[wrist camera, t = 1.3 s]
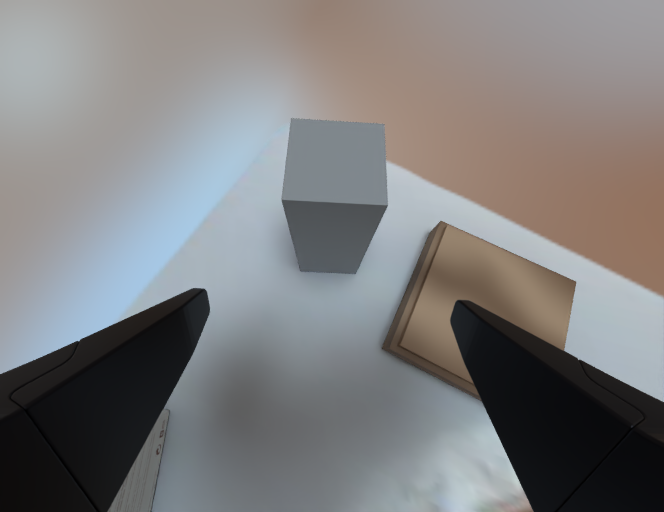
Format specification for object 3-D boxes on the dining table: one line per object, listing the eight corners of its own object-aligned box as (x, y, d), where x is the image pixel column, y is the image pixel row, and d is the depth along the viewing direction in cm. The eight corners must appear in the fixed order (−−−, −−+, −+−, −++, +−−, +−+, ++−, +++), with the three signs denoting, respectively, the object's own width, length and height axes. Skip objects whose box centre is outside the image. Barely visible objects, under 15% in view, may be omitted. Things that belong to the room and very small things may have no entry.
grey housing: (355, 273, 23) (387, 205, 12) (300, 271, 23) (281, 199, 12) (355, 224, 25) (384, 124, 14) (304, 221, 25) (291, 118, 14)
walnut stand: (523, 423, 20) (556, 435, 17) (381, 348, 21) (391, 348, 18) (551, 288, 24) (583, 280, 21) (430, 232, 25) (443, 217, 22)
